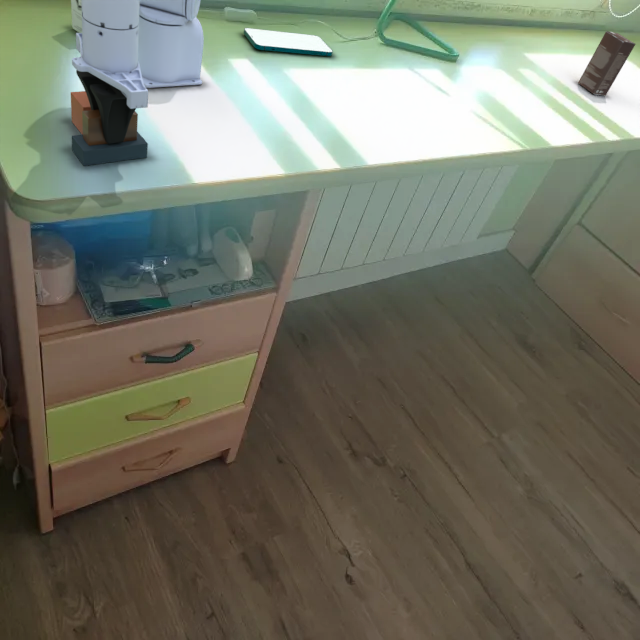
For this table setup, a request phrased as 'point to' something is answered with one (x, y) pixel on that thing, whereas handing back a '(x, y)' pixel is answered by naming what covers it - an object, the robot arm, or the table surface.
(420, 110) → the table surface
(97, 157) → the stepped two-tone block
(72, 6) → the ink box
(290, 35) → the smartphone
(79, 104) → the reddish-orange block
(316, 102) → the table surface
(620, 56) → the box
